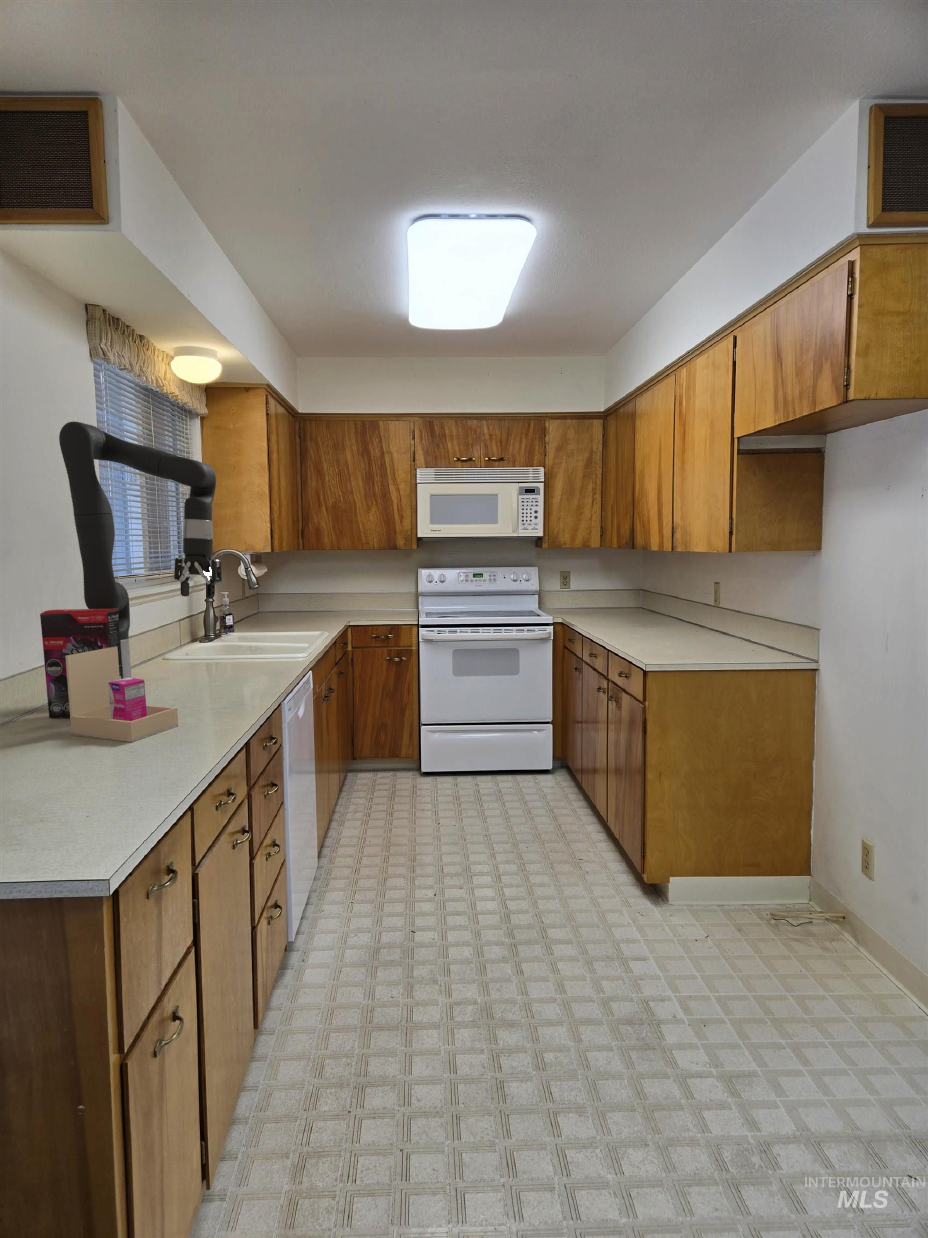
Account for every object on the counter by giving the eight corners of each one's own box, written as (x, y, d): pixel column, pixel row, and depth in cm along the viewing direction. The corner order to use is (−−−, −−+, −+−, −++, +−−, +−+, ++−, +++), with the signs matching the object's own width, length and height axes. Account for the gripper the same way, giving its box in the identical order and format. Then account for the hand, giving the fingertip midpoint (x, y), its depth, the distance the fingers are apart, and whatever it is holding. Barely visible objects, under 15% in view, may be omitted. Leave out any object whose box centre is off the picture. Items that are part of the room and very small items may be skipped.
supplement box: (110, 729, 163) (106, 681, 162) (133, 723, 168) (129, 676, 167) (126, 733, 160) (122, 683, 159) (149, 726, 166) (145, 678, 164)
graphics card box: (46, 719, 176) (37, 611, 173) (61, 713, 183) (52, 608, 180) (115, 718, 176) (107, 610, 173) (127, 711, 183) (120, 607, 180)
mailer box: (71, 735, 161) (65, 655, 159) (120, 720, 174) (115, 646, 172) (132, 742, 155) (126, 659, 153) (178, 726, 168) (173, 649, 166)
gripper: (167, 535, 188) (166, 596, 190) (208, 537, 183) (208, 599, 184) (187, 537, 195) (187, 595, 196) (228, 538, 190) (228, 598, 191)
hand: (197, 597), depth 190 cm, fingers open, 8 cm apart
